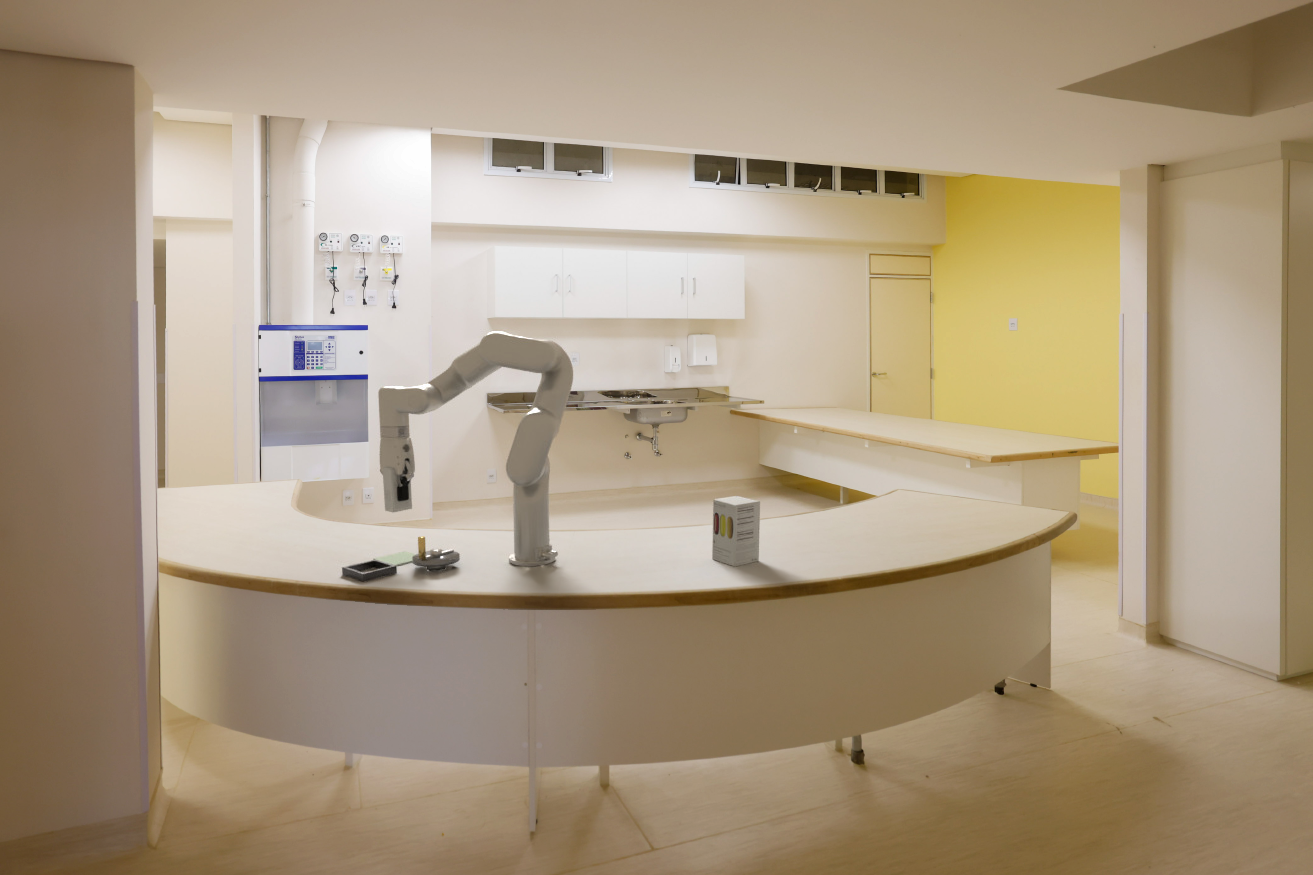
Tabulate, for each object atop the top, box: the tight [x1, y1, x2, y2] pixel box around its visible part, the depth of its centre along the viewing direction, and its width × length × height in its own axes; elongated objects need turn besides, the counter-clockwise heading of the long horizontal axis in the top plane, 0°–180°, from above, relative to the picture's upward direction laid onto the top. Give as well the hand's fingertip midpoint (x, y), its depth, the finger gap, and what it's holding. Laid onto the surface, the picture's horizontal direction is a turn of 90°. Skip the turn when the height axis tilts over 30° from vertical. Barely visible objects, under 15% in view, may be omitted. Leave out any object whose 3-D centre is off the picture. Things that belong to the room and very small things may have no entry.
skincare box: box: [382, 467, 413, 514], centre depth 223 cm, size 6×4×12 cm
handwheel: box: [411, 536, 461, 568], centre depth 216 cm, size 12×12×7 cm
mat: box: [372, 550, 417, 566], centre depth 226 cm, size 10×10×1 cm
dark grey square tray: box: [341, 559, 398, 583], centre depth 212 cm, size 10×10×2 cm
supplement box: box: [711, 495, 761, 567], centre depth 224 cm, size 10×9×17 cm
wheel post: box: [426, 565, 447, 572], centre depth 217 cm, size 5×5×2 cm
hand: (397, 498), depth 223 cm, fingers closed on skincare box, 4 cm apart
